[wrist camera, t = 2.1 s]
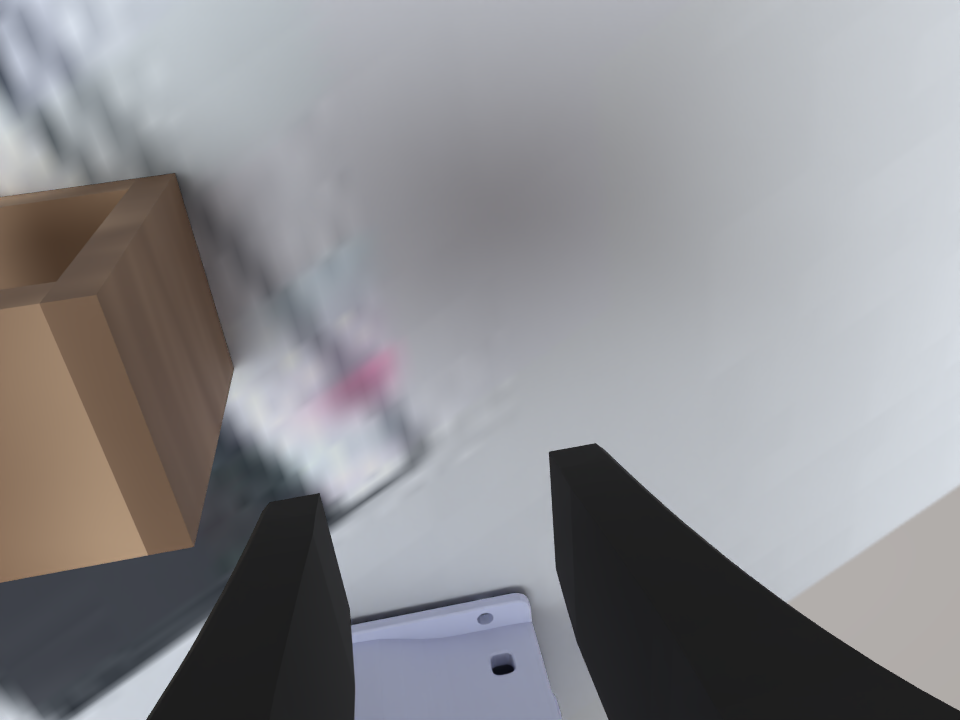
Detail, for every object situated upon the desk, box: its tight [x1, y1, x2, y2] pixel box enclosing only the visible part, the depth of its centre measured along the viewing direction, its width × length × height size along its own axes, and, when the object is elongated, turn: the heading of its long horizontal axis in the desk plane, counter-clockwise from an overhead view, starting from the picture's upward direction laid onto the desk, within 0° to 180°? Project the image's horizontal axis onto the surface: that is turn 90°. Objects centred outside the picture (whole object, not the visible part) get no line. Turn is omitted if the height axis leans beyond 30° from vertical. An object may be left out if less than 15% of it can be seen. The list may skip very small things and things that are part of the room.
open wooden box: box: [0, 173, 234, 582], centre depth 15 cm, size 4×5×6 cm
